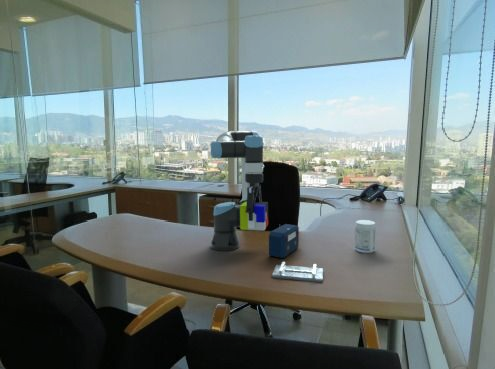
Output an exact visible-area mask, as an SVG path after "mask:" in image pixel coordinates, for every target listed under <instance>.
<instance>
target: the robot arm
mask: <svg viewBox="0 0 495 369" xmlns="http://www.w3.org/2000/svg"><path fill="white" fill-rule="evenodd" d="M263 138H264V137H263V136H262V135H260V133H259V131H256V130H230V131H226V132H223V133H221V134H219V135H218V136H217V138H216V140H214V141H211V142H210V156H211V158H212V159H218V160H219V159H238V158H239V159H240V163H241V193H242V194H241V196H242V198H241V200H240V201H239V204H236V202H235V201H227V202H221V203H218V204H216V205H215V206H214V207H213V235H212V240H211V243H210V246H211V249H212V250H215V251H219V252H220V251H222V252H229V251H234V250H237V249H239V248H240V239H239V236H238V234H237V228H240V205H242V204H243V203H244V202H246V201H247V206H246V213H248V228H253V229H254V228H255V213H254V206H255V202H263V201H262V200H263V199H262V189H261V188H262V185H261V183H263V182H264V173H263V172H264V168H265V165H264V139H263Z"/></svg>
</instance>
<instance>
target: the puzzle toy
mask: <svg viewBox="0 0 495 369" xmlns="http://www.w3.org/2000/svg"><path fill="white" fill-rule="evenodd" d="M239 205H240V204H239ZM246 206H247V201H246V202H244V203H243V204H242V205H240V227H239V228H240V230H243V231H245V230H246V231H262V232H263V231H265V230H266V229H267V227H268V226H269V202H268V201H262V202H255V206H254V213H255V228H254V229H253V228H248V213H246Z"/></svg>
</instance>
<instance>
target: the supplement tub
mask: <svg viewBox="0 0 495 369" xmlns="http://www.w3.org/2000/svg"><path fill="white" fill-rule="evenodd" d="M376 227H377V226H376V222H375V221H373V220H368V219H359V220H356V221H355V227H354V228H355V229H354V231H355V232H354V249H355V251H357V252H359V253H364V254H371V253H373V252H375V250H376Z"/></svg>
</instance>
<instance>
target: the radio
mask: <svg viewBox="0 0 495 369" xmlns="http://www.w3.org/2000/svg"><path fill="white" fill-rule="evenodd" d="M299 231H300V227H299V226H298V225H295V224H287V223H285V224H283V225H280V226H279V227H277V228H275V229H273V230H271V231H270V232H269V234H268V256H271V257H275V258H280V259H284V258H286V257H287V256H288V255H290V254H291V253H292V252H294V251H295V250H297V249H298V247H299V245H300V244H299V242H300V241H299V239H300V238H299V235H300V234H299V233H300V232H299Z"/></svg>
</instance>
